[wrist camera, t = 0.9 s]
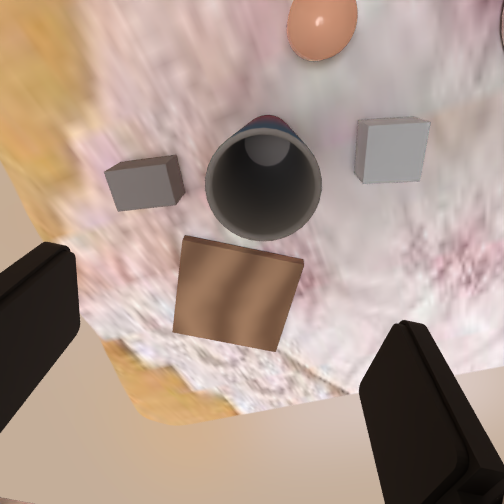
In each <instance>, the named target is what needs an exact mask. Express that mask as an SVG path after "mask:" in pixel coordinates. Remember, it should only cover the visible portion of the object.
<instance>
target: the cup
mask: <svg viewBox="0 0 504 504" xmlns="http://www.w3.org/2000/svg"><path fill="white" fill-rule="evenodd" d="M205 191H206V196H207V200H208V203H209V206H210V208H211V210H212V212H213V213H214V215H215V217H216V218H217V219H218V220H219V222H220V223H221V224H222V225H223V226H224V227H226V228H227V229H228V230H230V231H231V232H232V233H234V234H236V235H238V236H240V237H243V238H246V239H249V240H255V241H273V240H277V239H281V238H284V237H287V236H289V235H291V234H293V233H294V232H296V231H297V230H299V229H300V228H302V227H303V226H304V225H305V224H306V223H307V222H308V221H309V219H310V218H311V216H312V215H313V213H314V212H315V210H316V208H317V205H318V203H319V200H320V195H321V191H322V178H321V174H320V169H319V166H318V164H317V161H316V159H315V157H314V155H313V154H312V153H311V151H310V150H309V148H308V147H307V146H306V145H305V144H304V143H303V141H302V140H301V139H300V138H299V137H298V136H297V135H296V134H295V133H294V131H293V130H292V129H291V128H290V127H289V126H288V125H287V124H286V123H285V122H284V121H283V120H282V119H280V118H278V117H276V116H272V115H264V116H260V117H257V118H255V119H254V120H252V121H251V122H250V123H248V124H247V125H246V126H244V127H243V128H242V129H240V130H239V131H238V132H237V133H235V134H234V135H233V136H231V137H230V138H229V139H228V140H226V141H225V142H224V143H223V144H222V145H221V146H220V147H219V148H218V149H217V151H216V152H215V154H214V155H213V156H212V159H211V161H210V163H209V165H208V168H207V173H206V177H205Z"/></svg>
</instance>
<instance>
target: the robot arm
mask: <svg viewBox="0 0 504 504" xmlns="http://www.w3.org/2000/svg"><path fill="white" fill-rule="evenodd" d="M502 39H503V44H504V8H503V14H502ZM79 328H80V313H79V299H78V285H77V272H76V258H75V254H74V253H72V252H70V249H69V247H67V246H64V245H60V244H55V243H51V242H43V243H41V244H40V245H39V246H37V247H36V248H34V249H33V250H32V251H30V252H29V253H27V254H26V255H25V256H23V257H22V258H21V259H19V260H18V261H16V262H15V263H14V264H12V265H11V266H9V267H8V268H7V269H5V270H4V271H2V272H1V273H0V433H1V431H2V430H3V429H4V428H5V426H6V425H7V424H8V423H9V421H10V420H11V419H12V417H13V416H14V415H15V414H16V412H17V411H18V410H19V408H20V407H21V406H22V405H23V403H24V402H25V401H26V399H27V398H28V397H29V396H30V394H31V393H32V391H33V390H34V389H35V388H36V386H37V385H38V384H39V382H40V381H41V380H42V379H43V377H44V376H45V375H46V373H47V372H48V371H49V370H50V368H51V367H52V366H53V365H54V363H55V362H56V361H57V359H58V358H59V357H60V356H61V354H62V353H63V352H64V350H65V349H66V348H67V346H68V345H69V344H70V343H71V341H72V340H73V339H74V337H75V336H76V335H77V333H78V331H79ZM359 395H360V400H361V404H362V409H363V413H364V417H365V421H366V425H367V430H368V433H369V438H370V442H371V447H372V451H373V455H374V459H375V463H376V468H377V472H378V476H379V480H380V485H381V489H382V493H383V497H384V501H385V504H504V464H503V462H502V460H501V458H500V457H499V455H498V453H497V451H496V450H495V448H494V446H493V444H492V443H491V441H490V439H489V437H488V435H487V434H486V432H485V430H484V428H483V427H482V425H481V423H480V421H479V419H478V418H477V416H476V414H475V412H474V410H473V409H472V407H471V405H470V403H469V402H468V400H467V398H466V396H465V394H464V393H463V391H462V389H461V387H460V385H459V384H458V382H457V380H456V378H455V377H454V375H453V373H452V371H451V369H450V368H449V366H448V364H447V362H446V361H445V359H444V357H443V355H442V353H441V352H440V350H439V348H438V346H437V345H436V343H435V341H434V339H433V337H432V336H431V334H430V332H429V330H428V329H427V327H426V326H425V325H424V324H421V323H416V322H412V321H407V320H402V321H401V322H400V323H399V324H397V323H396V324H394V325H393V326H392V328H391V330H390V331H389V333H388V335H387V337H386V338H385V340H384V342H383V344H382V346H381V347H380V349H379V351H378V353H377V354H376V356H375V358H374V360H373V362H372V363H371V365H370V367H369V369H368V370H367V372H366V374H365V376H364V378H363V379H362V381H361V383H360V386H359ZM0 504H33V503H28V502H23V501H17V500H12V499H7V498H1V497H0Z"/></svg>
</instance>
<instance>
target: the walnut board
mask: <svg viewBox="0 0 504 504" xmlns="http://www.w3.org/2000/svg"><path fill="white" fill-rule="evenodd" d="M303 267H304V261H303V259H298V258H293V257H288V256H284V255H279V254H274V253H269V252H264V251H259V250H254V249H249V248H245V247H240V246H235V245H230V244H225V243H220V242H215V241H211V240H206V239H201V238H196V237H191V236H186V235H185V236H184V238H183V240H182V249H181V259H180V268H179V277H178V286H177V295H176V305H175V314H174V323H173V332H174V333H179V334H184V335H189V336H195V337H200V338H205V339H210V340H215V341H221V342H226V343H231V344H236V345H241V346H247V347H252V348H257V349H262V350H267V351H273V352H276V349H277V346H278V343H279V340H280V337H281V334H282V331H283V328H284V325H285V322H286V319H287V316H288V313H289V310H290V306H291V303H292V300H293V297H294V294H295V291H296V288H297V285H298V282H299V279H300V276H301V273H302V270H303Z"/></svg>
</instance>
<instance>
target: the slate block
mask: <svg viewBox="0 0 504 504" xmlns="http://www.w3.org/2000/svg"><path fill="white" fill-rule="evenodd" d="M430 124H431V122H429V121H426V120H422V119H419V118H416V117H400V118H383V119H367V120H358V130H357V142H356V154H355V166H354V173H355V175H356V176H357V177H358V178H359V180H360V181H361V182H362V183H363V184H375V183H397V182H419V181H420V179H421V173H422V168H423V162H424V157H425V151H426V146H427V140H428V135H429V129H430Z"/></svg>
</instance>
